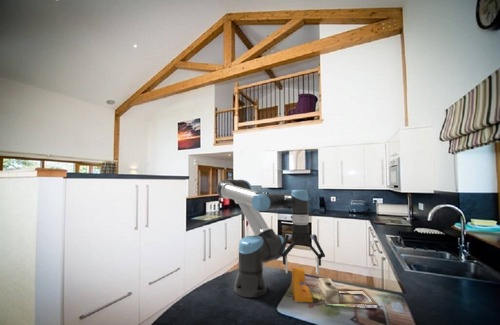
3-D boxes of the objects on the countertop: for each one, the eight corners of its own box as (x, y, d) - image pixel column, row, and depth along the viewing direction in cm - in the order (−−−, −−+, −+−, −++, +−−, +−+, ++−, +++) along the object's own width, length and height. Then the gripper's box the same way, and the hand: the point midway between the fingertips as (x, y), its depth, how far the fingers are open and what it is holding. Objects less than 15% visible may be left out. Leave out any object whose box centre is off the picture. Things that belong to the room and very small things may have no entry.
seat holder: (326, 306, 83) (325, 289, 84) (319, 291, 95) (318, 277, 96) (378, 309, 82) (377, 292, 82) (364, 293, 94) (363, 279, 94)
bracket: (313, 304, 85) (312, 273, 86) (295, 303, 85) (295, 273, 87) (307, 291, 95) (306, 264, 97) (291, 290, 96) (291, 263, 97)
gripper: (273, 224, 92) (273, 274, 89) (330, 225, 89) (333, 277, 86) (273, 221, 99) (273, 268, 96) (326, 222, 97) (328, 270, 94)
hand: (301, 272), depth 91 cm, fingers open, 13 cm apart
